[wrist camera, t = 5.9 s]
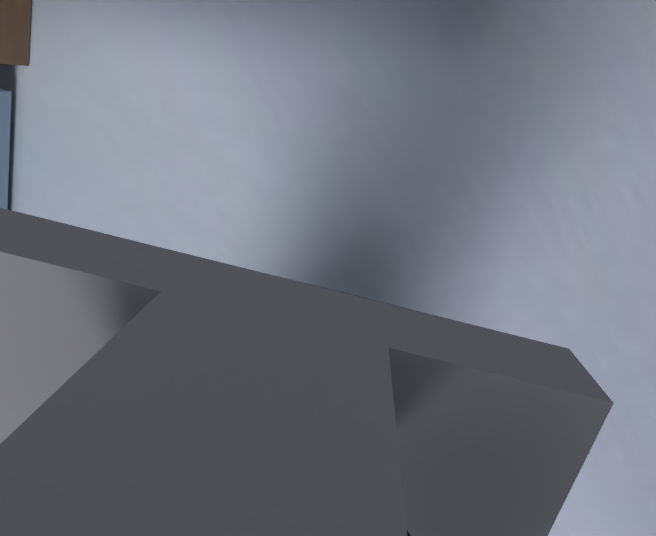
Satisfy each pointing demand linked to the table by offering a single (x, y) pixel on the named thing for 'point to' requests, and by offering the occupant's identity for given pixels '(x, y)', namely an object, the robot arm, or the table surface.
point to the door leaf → (4, 145)
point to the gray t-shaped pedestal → (264, 403)
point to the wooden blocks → (15, 31)
